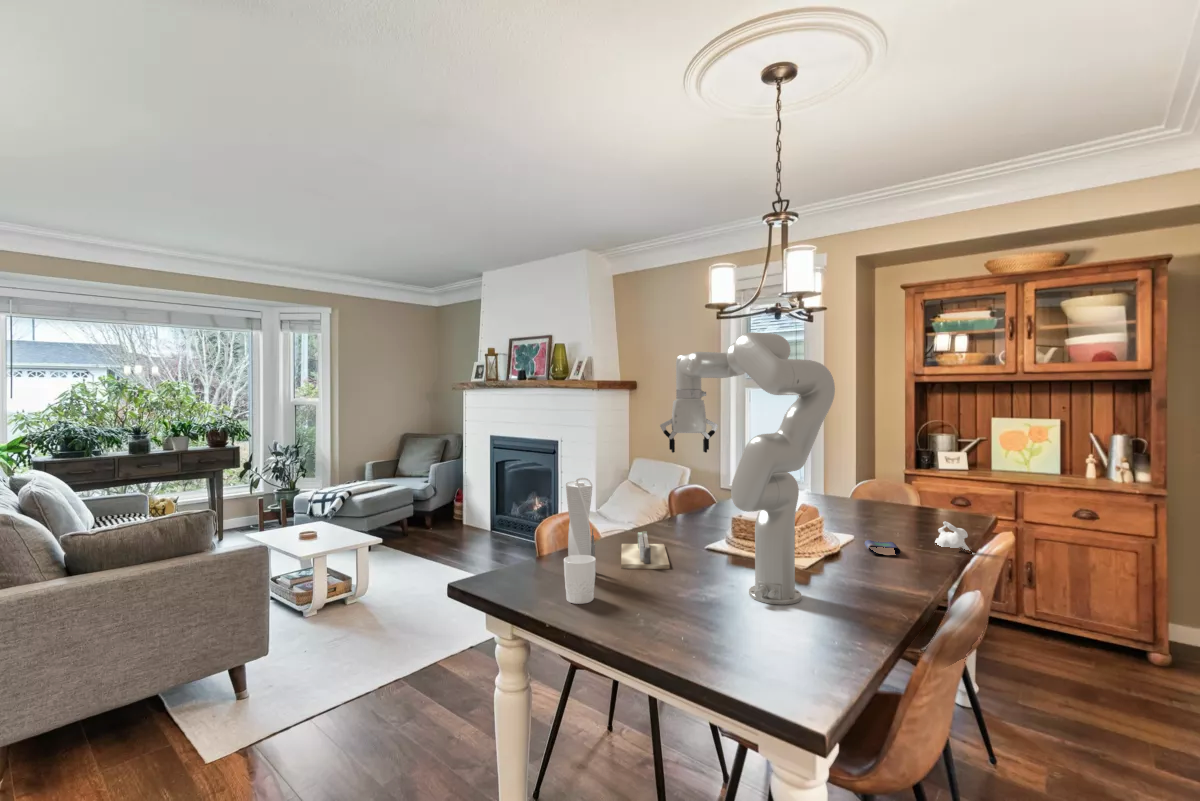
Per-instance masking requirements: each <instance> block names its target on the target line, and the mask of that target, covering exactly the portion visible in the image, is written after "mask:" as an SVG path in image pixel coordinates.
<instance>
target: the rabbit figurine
mask: <svg viewBox="0 0 1200 801" xmlns="http://www.w3.org/2000/svg"><path fill="white" fill-rule="evenodd" d="M942 524H943V526H942V527H940V528H938V529H937V531H938V533H939V535H938V537H936V538H935V541H934V544H935V543H937V545H939V546H941V547H950V548H959V549H960V548H962V550H964V549H965V550H969V551H971V549H970V548H969V546H968V545H967V543H966V542H965V539H967V538H968V536H969V535H968V532H967V531H966V530H965V529H964V528H961V527H956V526H955V525H953V524H952V523H951V522H948V521H943V522H942ZM945 528H948V530H950V531H945ZM951 531H952V532H951ZM965 550H964V551H965ZM971 555H973V556H975V555H976V553H975V552H972V554H971Z"/></svg>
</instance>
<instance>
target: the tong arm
mask: <svg viewBox="0 0 1200 801" xmlns="http://www.w3.org/2000/svg"><path fill="white" fill-rule="evenodd" d="M637 544H638V548H639V556H640V561H644V542H643V531H640V532H639V531H638V532H637Z"/></svg>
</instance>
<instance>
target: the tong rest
mask: <svg viewBox="0 0 1200 801" xmlns="http://www.w3.org/2000/svg"><path fill="white" fill-rule="evenodd" d="M642 535H643V542H644V561H640V556H639V548H638V543H621V552H620V553H621V554H620V558H621V559H620V568H621V569H639V570H641V569H645V570H646V569H647V570H670V569H671V568H670V566H671V565H670V560H669V558H668V553H667V549H666V547H665V544H664V543H649V539H648V531H647V530H642Z"/></svg>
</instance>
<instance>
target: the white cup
mask: <svg viewBox="0 0 1200 801" xmlns="http://www.w3.org/2000/svg"><path fill="white" fill-rule="evenodd" d="M596 560H597V559H596V556H595V557H593V556H589V555H572V556H566V557H564V558H563V571H564V572H563V574H564V584H565V586H564V587H565V598H566V601H567V602H568V603H570V604H571V603H572V604H575V605H576V604H577V605H578V604H579V605H582V604H588V603H591V602H592V601H593V600H594V599H595V598H594V597H595V585H596V583H595V582H596V579H595V564H596V565H597V561H596Z"/></svg>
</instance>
